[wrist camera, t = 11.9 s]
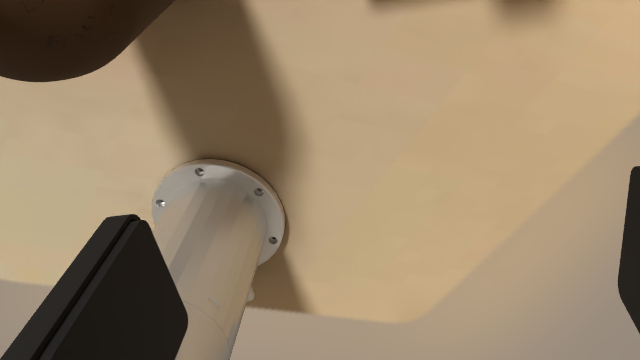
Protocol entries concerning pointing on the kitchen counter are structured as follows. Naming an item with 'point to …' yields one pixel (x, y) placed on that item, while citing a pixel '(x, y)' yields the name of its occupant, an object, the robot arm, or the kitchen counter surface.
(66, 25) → the olive oil
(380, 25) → the kitchen counter surface
